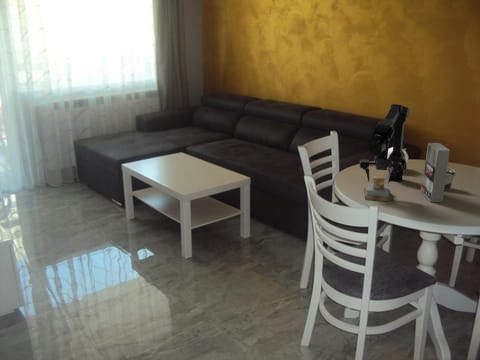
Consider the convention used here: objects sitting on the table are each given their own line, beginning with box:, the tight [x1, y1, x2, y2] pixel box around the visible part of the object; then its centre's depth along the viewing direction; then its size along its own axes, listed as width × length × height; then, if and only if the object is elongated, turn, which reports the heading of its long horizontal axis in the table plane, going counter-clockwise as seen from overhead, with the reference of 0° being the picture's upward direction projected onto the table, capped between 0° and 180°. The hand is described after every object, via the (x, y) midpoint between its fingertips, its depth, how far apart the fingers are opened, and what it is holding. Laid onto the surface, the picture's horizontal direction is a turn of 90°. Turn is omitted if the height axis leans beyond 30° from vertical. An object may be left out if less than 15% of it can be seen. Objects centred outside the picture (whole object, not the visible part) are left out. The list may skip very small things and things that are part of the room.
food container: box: [444, 167, 456, 191], centre depth 240 cm, size 12×6×10 cm, turn 65°
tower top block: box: [366, 183, 390, 197], centre depth 228 cm, size 10×10×2 cm
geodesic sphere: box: [387, 146, 409, 170], centre depth 267 cm, size 14×14×14 cm
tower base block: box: [363, 187, 392, 202], centre depth 229 cm, size 12×12×2 cm
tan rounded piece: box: [372, 175, 386, 190], centre depth 227 cm, size 5×5×5 cm
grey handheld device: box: [419, 142, 451, 203], centre depth 224 cm, size 14×6×25 cm, turn 178°
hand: (378, 182), depth 227 cm, fingers open, 9 cm apart
